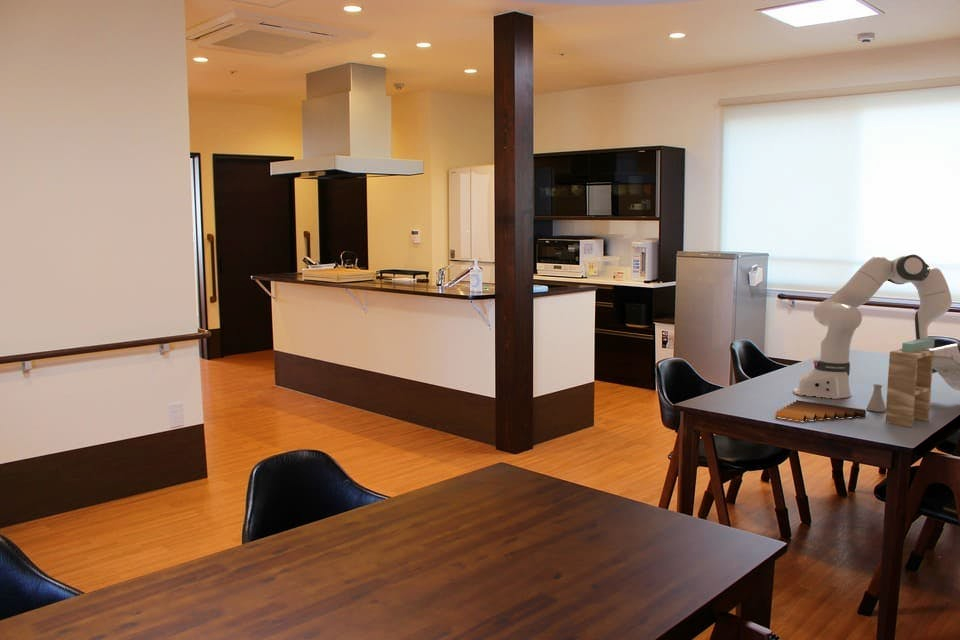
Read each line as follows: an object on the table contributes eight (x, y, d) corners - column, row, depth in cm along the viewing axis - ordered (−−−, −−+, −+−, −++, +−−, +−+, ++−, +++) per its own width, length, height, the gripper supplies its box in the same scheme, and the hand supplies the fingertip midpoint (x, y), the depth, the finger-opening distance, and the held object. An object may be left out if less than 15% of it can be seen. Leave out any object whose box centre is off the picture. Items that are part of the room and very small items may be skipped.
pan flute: (865, 417, 297) (797, 407, 312) (866, 408, 296) (797, 399, 312) (846, 431, 278) (775, 420, 293) (847, 422, 277) (775, 411, 293)
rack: (902, 415, 297) (907, 347, 294) (928, 420, 290) (933, 350, 287) (885, 422, 288) (889, 351, 284) (911, 427, 281) (916, 354, 278)
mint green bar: (924, 346, 297) (925, 337, 296) (934, 347, 294) (934, 338, 294) (901, 351, 284) (902, 343, 284) (911, 352, 282) (911, 344, 281)
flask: (862, 410, 306) (864, 384, 305) (869, 407, 311) (871, 382, 310) (882, 413, 301) (884, 387, 300) (889, 410, 306) (891, 384, 305)
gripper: (923, 357, 319) (912, 344, 310) (980, 364, 303) (970, 350, 295) (919, 372, 318) (908, 358, 309) (976, 379, 302) (966, 365, 293)
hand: (938, 354), depth 302 cm, fingers open, 8 cm apart
